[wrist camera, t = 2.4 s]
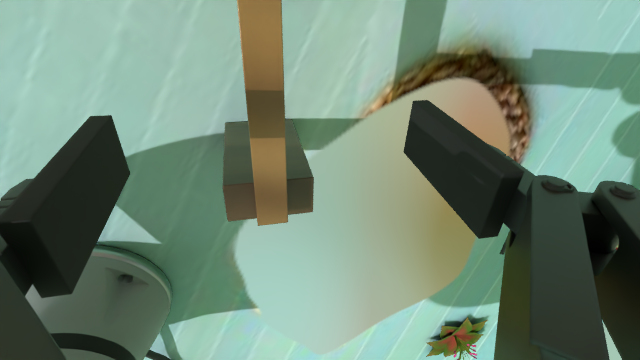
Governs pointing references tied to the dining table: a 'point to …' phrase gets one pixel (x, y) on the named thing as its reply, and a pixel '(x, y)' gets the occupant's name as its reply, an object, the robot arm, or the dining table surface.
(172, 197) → the dining table surface
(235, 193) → the dark upright slab
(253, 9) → the ladle
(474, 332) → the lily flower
